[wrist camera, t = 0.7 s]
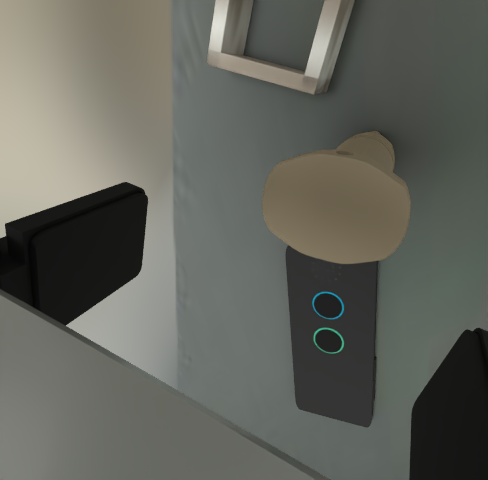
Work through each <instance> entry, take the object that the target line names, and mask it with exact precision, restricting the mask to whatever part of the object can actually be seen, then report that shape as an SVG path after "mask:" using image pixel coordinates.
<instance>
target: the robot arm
mask: <svg viewBox="0 0 488 480" xmlns="http://www.w3.org/2000/svg"><path fill="white" fill-rule="evenodd" d="M147 205H148V197H147V196H146V195H145V192H144V190H143V189H142V188H140V187H137V186H135V185H133V184H130V183H127V182H124V183H121V184H118V185H115V186H112V187H109V188H106V189H103V190H101V191H98V192H95V193H92V194H89V195H86V196H83V197H80V198H78V199H75V200H72V201H69V202H66V203H63V204H60V205H57V206H55V207H52V208H49V209H46V210H43V211H40V212H38V213H35V214H32V215H29V216H26V217H23V218H20V219H17V220H15V221H12V222H9V223H6V224H5V229H6V236H5V237H3V238H0V480H330V479H328V478H327V477H325V476H323V475H321V474H320V473H318V472H316V471H315V470H313V469H311V468H309V467H308V466H306V465H304V464H303V463H301V462H299V461H298V460H296V459H294V458H292V457H291V456H289V455H287V454H286V453H284V452H282V451H280V450H279V449H277V448H275V447H274V446H272V445H270V444H269V443H267V442H265V441H263V440H262V439H260V438H258V437H257V436H255V435H253V434H251V433H250V432H248V431H246V430H245V429H243V428H241V427H240V426H238V425H236V424H234V423H233V422H231V421H229V420H228V419H226V418H224V417H222V416H221V415H219V414H217V413H216V412H214V411H212V410H210V409H209V408H207V407H205V406H204V405H202V404H200V403H198V402H197V401H195V400H193V399H192V398H190V397H188V396H186V395H185V394H183V393H181V392H179V391H178V390H176V389H174V388H172V387H171V386H169V385H167V384H166V383H164V382H162V381H160V380H159V379H157V378H155V377H154V376H152V375H150V374H148V373H147V372H145V371H143V370H141V369H140V368H138V367H136V366H135V365H133V364H131V363H129V362H128V361H126V360H124V359H122V358H121V357H119V356H117V355H115V354H114V353H112V352H110V351H109V350H107V349H105V348H103V347H101V346H100V345H98V344H96V343H94V342H93V341H91V340H89V339H88V338H86V337H84V336H82V335H80V334H79V333H77V332H75V331H74V330H72V329H70V328H68V327H66V325H67V324H69V323H70V322H71V321H73V320H74V319H76V318H77V317H79V316H80V315H81V314H83V313H84V312H86V311H87V310H89V309H90V308H92V307H93V306H94V305H96V304H97V303H99V302H100V301H102V300H103V299H104V298H106V297H107V296H109V295H110V294H112V293H113V292H115V291H116V290H118V289H119V288H120V287H122V286H123V285H125V284H126V283H128V282H129V281H130V280H132V279H133V278H135V277H136V276H137V275H138V274H139V272H140V270H141V267H142V259H143V248H144V237H145V227H146V226H145V225H146V216H147ZM409 480H488V331H485V330H483V329H481V328H476V329H475V330H474V331H473V332H472V331H470V330H468V329H467V330H465V331H464V332H463V333H462V334H461V336H460V337H459V339H458V340H457V341H456V343H455V344H454V346H453V347H452V349H451V350H450V352H449V353H448V355H447V356H446V357H445V359H444V360H443V362H442V363H441V365H440V366H439V368H438V369H437V370H436V372H435V373H434V375H433V376H432V378H431V379H430V381H429V382H428V384H427V385H426V386H425V388H424V389H423V391H422V392H421V394H420V395H419V397H418V398H417V400H416V401H415V403H414V406H413V409H412V418H411V448H410V479H409Z"/></svg>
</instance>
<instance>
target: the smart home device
mask: <svg viewBox="0 0 488 480" xmlns="http://www.w3.org/2000/svg"><path fill="white" fill-rule="evenodd" d="M286 267H287V282H288V296H289V311H290V325H291V340H292V354H293V369H294V383H295V398H296V404H297V407H298V408H299V409H301V410H303V411H307V412H311V413H315V414H318V415H322V416H326V417H329V418H333V419H337V420H341V421H344V422H348V423H352V424H356V425H359V426H363V427H369V426H370V424H371V420H372V414H373V401H374V398H375V374H376V357H375V331H376V301H377V270H378V261H371V262H364V263H355V264H340V263H334V262H330V261H326V260H322V259H319V258H315V257H311V256H308V255H306V254H303V253H300V252H299V251H297V250H295V249H294V248H292V247H290V246H288V247H287V249H286Z"/></svg>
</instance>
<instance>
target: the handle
mask: <svg viewBox="0 0 488 480" xmlns="http://www.w3.org/2000/svg"><path fill="white" fill-rule="evenodd" d="M394 165H395V155H394V149H393V145H392V144H391V143H390V142H389V141H388V140H387V139H386V138H385V137H383V136H382V135H380V133H379V132H377V131H370V132H366V133H360V134H357V135H355V136H352V137H350V138H349V139H347V140H345V141H344V142H343V143H342V144H340V145H339V146H338V147H337V148H336V150H330V149H323V150H318V151H313V152H309V153H306V154H302V155H299V156H295V157H292V158H289V159H286V160H283V161H282V162H280V163H278V164H277V165H276V166H275V167H274V168H273V170H272V171H271V173H270V174H269V176H268V178H267V180H266V183H265V186H264V191H263V196H262V209H263V216H264V219H265V222H266V224H267V226H268V229H269V230H270V231H271V232H272V233H273V234H275V235H276V236H277V237H279V238H280V239H281V240H282V241H284V242H285V243H286V244H288V245H289V246H290V247H292V248H294V249H295V250H297V251H299V252H300V253H303V254H306V255H308V256H311V257H315V258H319V259H322V260H326V261H330V262H334V263H340V264H355V263H364V262H371V261H378V260H384V259H386V258H387V257H388V256H390V255H391V254H392V253H393V252H394V251H395V250H396V249H397V248H398V247H399V245H400V244H401V242H402V241H403V239H404V236H405V234H406V231H407V229H408V225H409V220H410V211H411V199H410V194H409V190H408V188H407V185H406V183H405V181H404V180H402V179H401V178H400V177H398V176H397V175H396V174H394V173H393V170H394Z"/></svg>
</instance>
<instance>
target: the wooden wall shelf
mask: <svg viewBox="0 0 488 480" xmlns="http://www.w3.org/2000/svg"><path fill="white" fill-rule="evenodd" d="M253 2H254V0H216V3H215V10H214V17H213V24H212V30H211V37H210V44H209V51H208V58H207V64H208V65H211V66H215V67H218V68H222V69H225V70H229V71H233V72H236V73H240V74H243V75H247V76H250V77H254V78H257V79H261V80H264V81H268V82H271V83H275V84H278V85H282V86H286V87H289V88H293V89H296V90H300V91H303V92H307V93H310V94H319V93H325V92H327V90H328V87H329V83H330V80H331V77H332V73H333V70H334V67H335V64H336V60H337V57H338V54H339V51H340V47H341V44H342V41H343V38H344V34H345V31H346V28H347V24H348V21H349V18H350V15H351V11H352V8H353V5H354V2H355V0H325V1H324V5H323V8H322V12H321V16H320V19H319V23H318V27H317V30H316V34H315V38H314V41H313V45H312V49H311V53H310V56H309V60H308V64H307V67H306V71H301V70H297V69H294V68H290V67H286V66H282V65H279V64H275V63H271V62H267V61H264V60H260V59H256V58H252V57H249V56H245V55H243V54H244V49H245V44H246V39H247V33H248V28H249V23H250V18H251V12H252V7H253Z"/></svg>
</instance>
